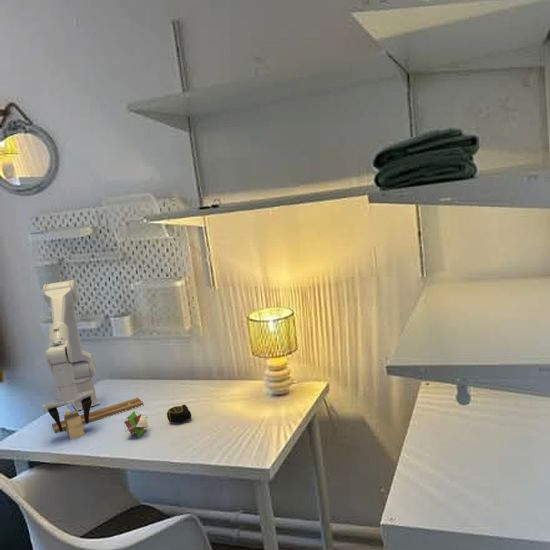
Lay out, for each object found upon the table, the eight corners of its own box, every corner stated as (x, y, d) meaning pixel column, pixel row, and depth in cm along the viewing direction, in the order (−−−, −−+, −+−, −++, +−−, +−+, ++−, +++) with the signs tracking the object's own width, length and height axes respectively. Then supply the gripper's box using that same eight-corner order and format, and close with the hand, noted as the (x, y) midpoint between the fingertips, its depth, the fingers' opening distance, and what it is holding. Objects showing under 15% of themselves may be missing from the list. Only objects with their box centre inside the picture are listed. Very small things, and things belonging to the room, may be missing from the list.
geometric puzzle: (115, 432, 174) (125, 412, 171) (127, 422, 180) (137, 402, 177) (135, 446, 173) (145, 426, 170) (146, 435, 179) (156, 415, 177)
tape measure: (192, 422, 179) (190, 410, 179) (170, 427, 177) (167, 416, 177) (188, 413, 186) (186, 402, 185) (166, 419, 184) (164, 408, 183)
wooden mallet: (63, 426, 190) (59, 408, 189) (76, 422, 192) (72, 404, 190) (70, 439, 178) (66, 421, 177) (84, 435, 180) (80, 416, 179)
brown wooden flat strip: (52, 426, 190) (51, 423, 190) (138, 400, 203) (137, 397, 203) (55, 433, 185) (54, 429, 185) (143, 405, 198) (142, 402, 197)
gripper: (41, 394, 172) (51, 438, 175) (92, 380, 179) (101, 423, 181) (38, 388, 178) (47, 431, 181) (87, 374, 185) (96, 416, 187)
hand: (74, 426), depth 181 cm, fingers open, 7 cm apart
